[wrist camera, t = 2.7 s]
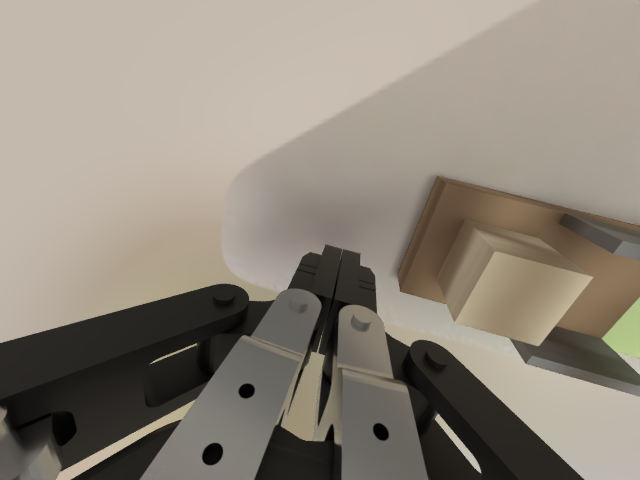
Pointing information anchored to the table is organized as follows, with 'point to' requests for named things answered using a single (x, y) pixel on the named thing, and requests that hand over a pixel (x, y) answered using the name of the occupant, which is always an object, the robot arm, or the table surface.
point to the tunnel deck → (565, 237)
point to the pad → (626, 332)
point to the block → (508, 282)
